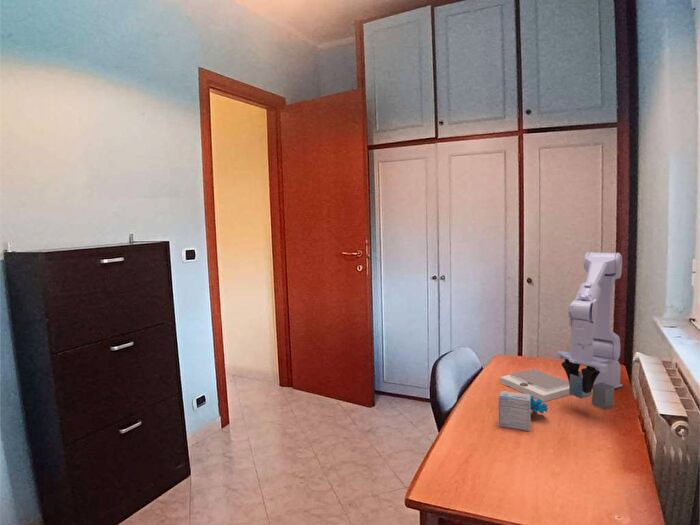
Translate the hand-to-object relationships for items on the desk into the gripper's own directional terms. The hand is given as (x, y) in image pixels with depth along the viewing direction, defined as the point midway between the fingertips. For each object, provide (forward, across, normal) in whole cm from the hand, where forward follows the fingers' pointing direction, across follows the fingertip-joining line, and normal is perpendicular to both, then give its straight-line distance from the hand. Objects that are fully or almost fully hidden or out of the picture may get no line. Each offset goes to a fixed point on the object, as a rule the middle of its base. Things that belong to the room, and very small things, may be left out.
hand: (580, 389), depth 130 cm
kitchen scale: (+7, -19, +4) cm, 21 cm away
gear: (+7, -6, -14) cm, 17 cm away
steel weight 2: (+7, 0, +10) cm, 12 cm away
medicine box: (+7, -3, -22) cm, 23 cm away
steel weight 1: (+2, 0, 0) cm, 2 cm away
